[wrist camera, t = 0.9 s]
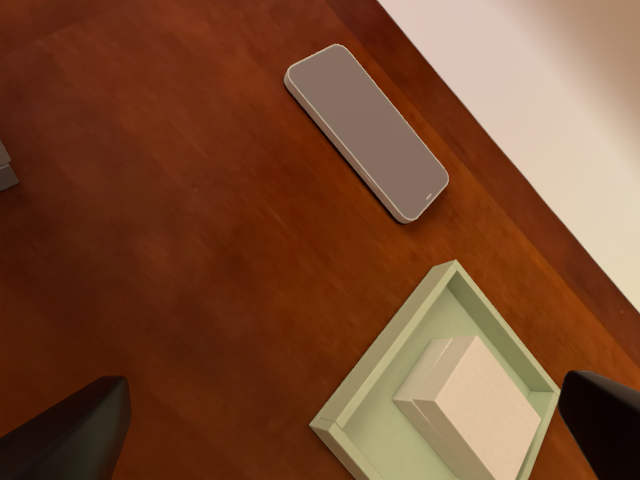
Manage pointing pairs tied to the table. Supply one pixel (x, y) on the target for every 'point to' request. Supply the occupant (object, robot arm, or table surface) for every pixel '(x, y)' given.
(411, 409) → the white book stack
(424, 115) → the table surface
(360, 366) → the tray
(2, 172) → the grey book stack
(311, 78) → the smartphone
